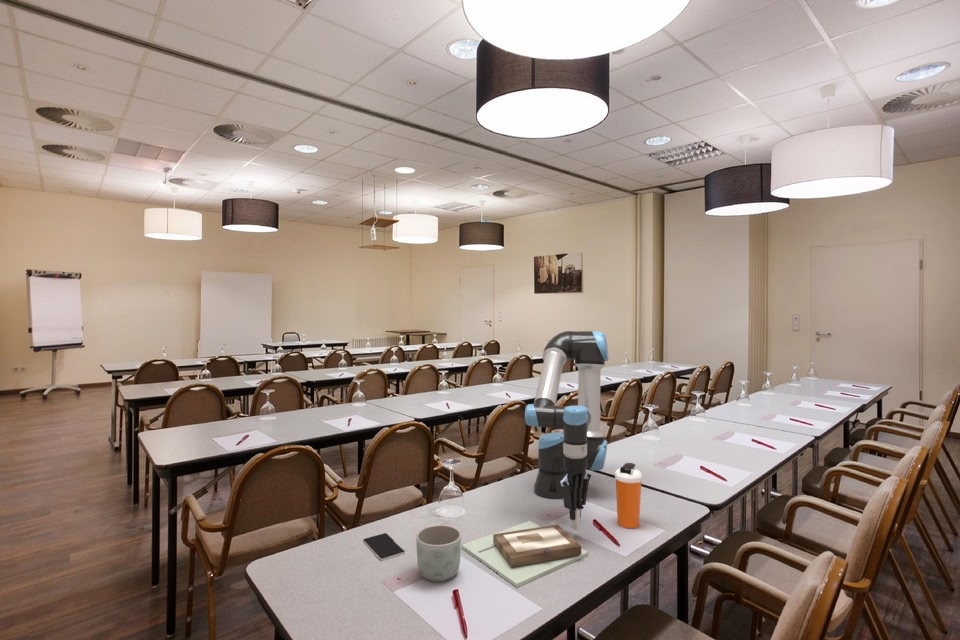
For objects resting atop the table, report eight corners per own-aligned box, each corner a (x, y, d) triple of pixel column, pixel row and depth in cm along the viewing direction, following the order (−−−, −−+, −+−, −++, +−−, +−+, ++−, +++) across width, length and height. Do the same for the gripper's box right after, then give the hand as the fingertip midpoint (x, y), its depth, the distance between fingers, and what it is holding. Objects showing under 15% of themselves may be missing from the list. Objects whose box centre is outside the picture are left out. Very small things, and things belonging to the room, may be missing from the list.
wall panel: (461, 548, 148) (461, 544, 148) (529, 523, 164) (529, 520, 164) (516, 587, 127) (516, 583, 127) (588, 555, 143) (588, 551, 143)
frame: (493, 542, 148) (493, 532, 148) (557, 531, 155) (557, 522, 155) (512, 568, 133) (512, 557, 133) (582, 555, 140) (582, 545, 140)
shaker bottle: (643, 521, 166) (643, 463, 166) (640, 532, 158) (640, 471, 158) (616, 516, 170) (617, 460, 170) (612, 526, 162) (612, 467, 162)
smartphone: (386, 532, 157) (406, 550, 145) (386, 536, 157) (406, 554, 145) (362, 539, 153) (380, 558, 140) (362, 542, 153) (380, 562, 140)
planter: (443, 591, 125) (443, 550, 125) (407, 577, 132) (406, 538, 132) (469, 569, 136) (469, 531, 135) (434, 557, 142) (434, 521, 142)
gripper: (569, 462, 147) (569, 538, 147) (598, 454, 155) (597, 527, 155) (552, 456, 153) (552, 529, 153) (580, 449, 161) (580, 519, 161)
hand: (575, 528), depth 154 cm, fingers closed
